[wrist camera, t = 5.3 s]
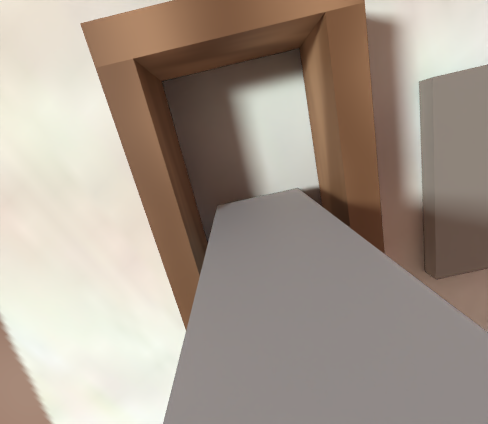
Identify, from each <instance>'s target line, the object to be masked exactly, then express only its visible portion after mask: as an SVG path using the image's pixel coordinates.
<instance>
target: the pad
mask: <svg viewBox="0 0 488 424" xmlns="http://www.w3.org/2000/svg"><path fill="white" fill-rule="evenodd" d="M419 93H420V125H421V157H422V188H423V220H424V252H425V272H426V273H428V274H429V275H430V276H432V277H433V278H435V279H441V278H446V277H450V276H455V275H459V274H464V273H469V272H473V271H478V270H483V269H487V268H488V65H484V66H480V67H475V68H471V69H467V70H463V71H458V72H454V73H450V74H446V75H441V76H437V77H433V78H430V79H426V80H423V81H420V82H419Z"/></svg>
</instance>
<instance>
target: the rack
mask: <svg viewBox="0 0 488 424" xmlns="http://www.w3.org/2000/svg"><path fill="white" fill-rule="evenodd" d="M80 24H81V27H82V30H83V33H84V36H85V39H86V41H87V44H88V47H89V50H90V53H91V56H92V59H93V62H94V65H95V68H96V70H97V73H98V76H99V79H100V82H101V85H102V88H103V91H104V94H105V97H106V99H107V102H108V105H109V108H110V111H111V114H112V117H113V120H114V123H115V126H116V128H117V131H118V134H119V137H120V140H121V143H122V146H123V149H124V152H125V155H126V157H127V160H128V163H129V166H130V169H131V172H132V175H133V178H134V181H135V184H136V186H137V189H138V192H139V195H140V198H141V201H142V204H143V207H144V210H145V213H146V215H147V218H148V221H149V224H150V227H151V230H152V233H153V236H154V239H155V242H156V245H157V247H158V250H159V253H160V256H161V259H162V262H163V265H164V268H165V271H166V274H167V276H168V279H169V282H170V285H171V288H172V291H173V294H174V297H175V300H176V303H177V305H178V308H179V311H180V314H181V317H182V320H183V323H184V326H185V329H186V330H187V326H188V322H189V318H190V314H191V310H192V306H193V302H194V298H195V294H196V290H197V286H198V282H199V277H200V273H201V269H202V265H203V261H204V257H205V253H206V249H207V245H208V243H207V240H206V236H205V233H204V229H203V226H202V222H201V219H200V215H199V212H198V208H197V205H196V201H195V198H194V194H193V190H192V187H191V183H190V180H189V176H188V173H187V169H186V166H185V162H184V159H183V155H182V152H181V148H180V145H179V141H178V138H177V134H176V131H175V127H174V124H173V120H172V117H171V113H170V110H169V106H168V103H167V99H166V96H165V92H164V89H163V85H162V82H161V81H165V80H169V79H173V78H177V77H181V76H186V75H190V74H194V73H198V72H202V71H206V70H210V69H215V68H219V67H223V66H227V65H231V64H235V63H240V62H244V61H248V60H252V59H256V58H260V57H264V56H269V55H273V54H277V53H281V52H285V51H289V50H294V49H298V48H299V49H300V56H301V63H302V70H303V77H304V83H305V90H306V97H307V104H308V111H309V118H310V125H311V132H312V139H313V146H314V153H315V160H316V167H317V174H318V180H319V187H320V194H321V201H322V207H323V208H325V209H326V210H327V211H329V212H330V213H331V214H332V215H334V216H335V217H336V218H338V219H339V220H340V221H342V222H343V223H344V224H346V225H347V226H348V227H350V228H351V229H352V230H354V231H355V232H356V233H358V234H359V235H360V236H361V237H363V238H364V239H365V240H367V241H368V242H369V243H371V244H372V245H373V246H375V247H376V248H377V249H379V250H380V251H381V252H383V253H384V241H383V229H382V216H381V203H380V191H379V178H378V165H377V153H376V140H375V127H374V114H373V102H372V89H371V76H370V64H369V51H368V38H367V26H366V13H365V0H173V1H169V2H165V3H161V4H157V5H153V6H149V7H145V8H141V9H137V10H133V11H129V12H125V13H121V14H117V15H113V16H109V17H105V18H100V19H96V20H92V21H88V22H84V23H80Z"/></svg>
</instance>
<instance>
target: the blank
mask: <svg viewBox="0 0 488 424" xmlns="http://www.w3.org/2000/svg"><path fill="white" fill-rule="evenodd" d="M163 424H488V332H487V331H485V330H484V329H483V328H481V327H480V326H479V325H477V324H476V323H475V322H473V321H472V320H471V319H469V318H468V317H467V316H465V315H464V314H463V313H462V312H460V311H459V310H458V309H456V308H455V307H454V306H452V305H451V304H450V303H448V302H447V301H446V300H444V299H443V298H442V297H440V296H439V295H438V294H437V293H435V292H434V291H433V290H431V289H430V288H429V287H427V286H426V285H425V284H423V283H422V282H421V281H419V280H418V279H417V278H415V277H414V276H413V275H411V274H410V273H409V272H408V271H406V270H405V269H404V268H402V267H401V266H400V265H398V264H397V263H396V262H394V261H393V260H392V259H390V258H389V257H388V256H386V255H385V254H384V253H383V252H381V251H380V250H379V249H377V248H376V247H375V246H373V245H372V244H371V243H369V242H368V241H367V240H365V239H364V238H363V237H361V236H360V235H359V234H358V233H356V232H355V231H354V230H352V229H351V228H350V227H348V226H347V225H346V224H344V223H343V222H342V221H340V220H339V219H338V218H336V217H335V216H334V215H332V214H331V213H330V212H329V211H327V210H326V209H325V208H323V207H322V206H321V205H319V204H318V203H317V202H315V201H314V200H313V199H311V198H310V197H309V196H307V195H306V194H305V193H304V192H302V191H301V190H300V189H298V188H295V189H291V190H286V191H282V192H277V193H272V194H268V195H263V196H259V197H254V198H249V199H245V200H240V201H236V202H231V203H226V204H222V205H217V209H216V213H215V217H214V221H213V225H212V229H211V233H210V237H209V241H208V245H207V249H206V253H205V257H204V261H203V265H202V269H201V273H200V277H199V282H198V286H197V290H196V294H195V298H194V302H193V306H192V310H191V314H190V318H189V322H188V326H187V330H186V334H185V338H184V342H183V346H182V350H181V354H180V358H179V362H178V366H177V370H176V374H175V378H174V382H173V386H172V390H171V394H170V398H169V402H168V406H167V410H166V414H165V418H164V422H163Z"/></svg>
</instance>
